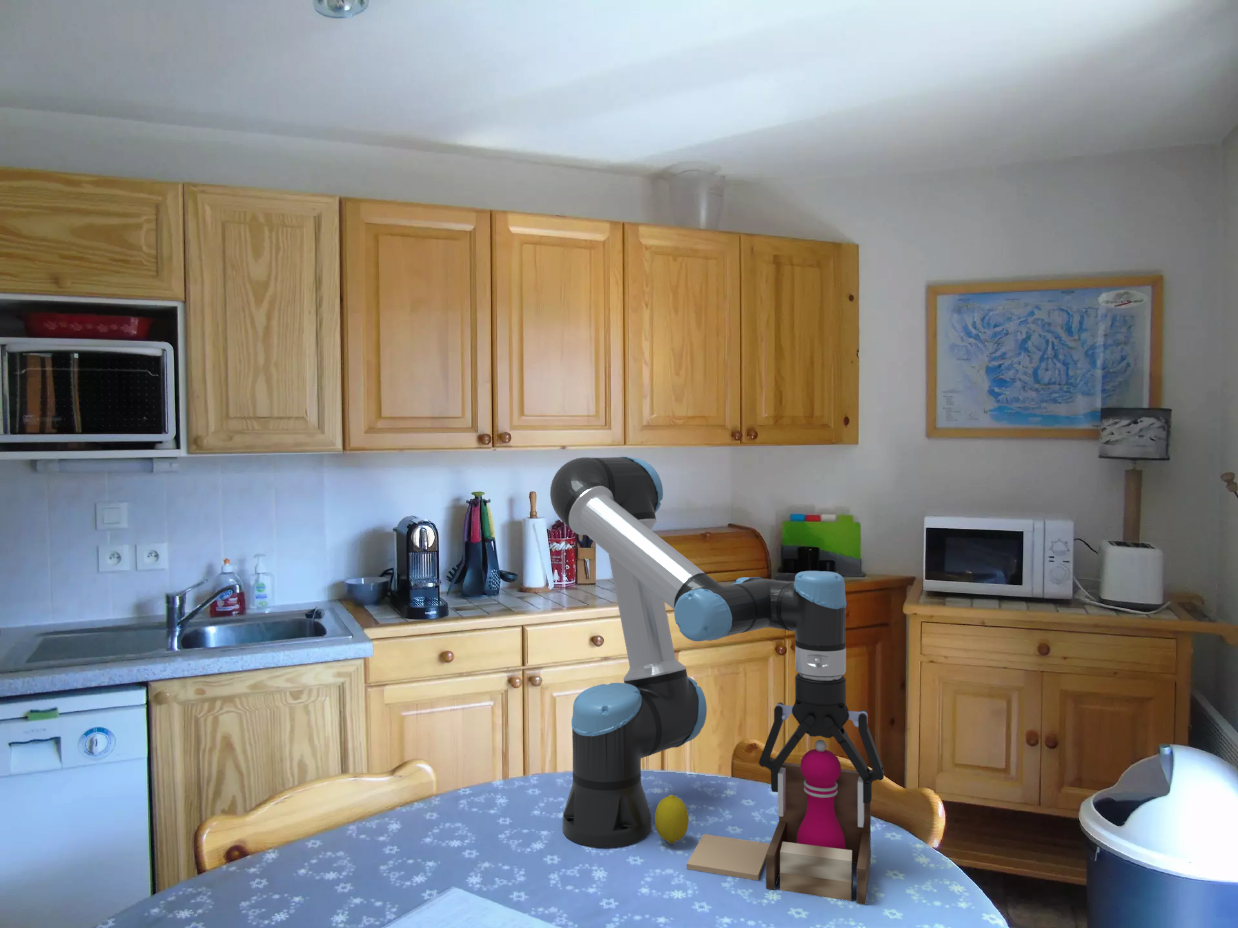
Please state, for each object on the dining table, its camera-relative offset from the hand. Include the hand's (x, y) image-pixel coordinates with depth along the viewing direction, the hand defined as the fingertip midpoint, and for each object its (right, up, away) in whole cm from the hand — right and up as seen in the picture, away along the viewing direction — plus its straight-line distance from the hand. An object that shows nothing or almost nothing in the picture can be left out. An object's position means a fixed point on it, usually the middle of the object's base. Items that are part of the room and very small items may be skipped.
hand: (820, 818), depth 129 cm
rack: (0, -8, -1) cm, 8 cm away
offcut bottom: (-2, -8, -6) cm, 10 cm away
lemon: (-22, -8, +9) cm, 25 cm away
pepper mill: (0, -8, 0) cm, 8 cm away
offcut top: (-2, -5, -6) cm, 8 cm away
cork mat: (-13, -8, +4) cm, 16 cm away
